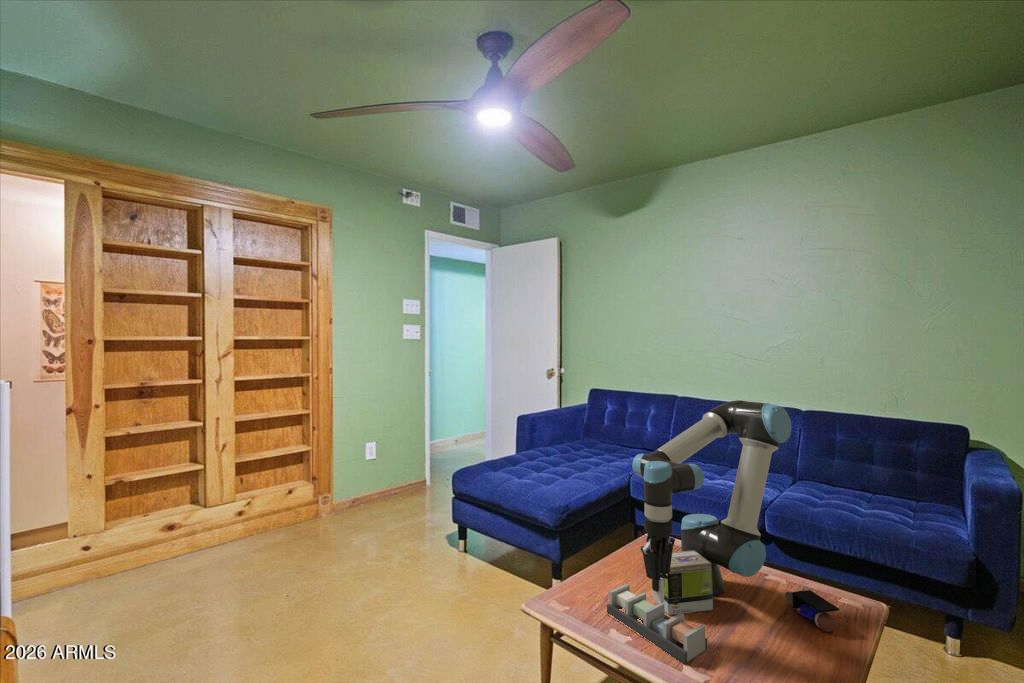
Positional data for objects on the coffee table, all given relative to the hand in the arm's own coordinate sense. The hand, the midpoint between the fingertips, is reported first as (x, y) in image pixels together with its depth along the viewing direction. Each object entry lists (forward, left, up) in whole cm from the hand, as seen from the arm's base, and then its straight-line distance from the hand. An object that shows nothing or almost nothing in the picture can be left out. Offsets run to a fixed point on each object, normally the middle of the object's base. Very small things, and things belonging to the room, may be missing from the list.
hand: (658, 600), depth 133 cm
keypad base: (0, -1, -9) cm, 9 cm away
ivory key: (0, -11, -6) cm, 13 cm away
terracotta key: (0, +8, -6) cm, 11 cm away
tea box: (-18, -5, -10) cm, 21 cm away
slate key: (0, +2, -8) cm, 8 cm away
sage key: (0, -5, -6) cm, 8 cm away
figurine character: (-43, +22, -10) cm, 49 cm away
